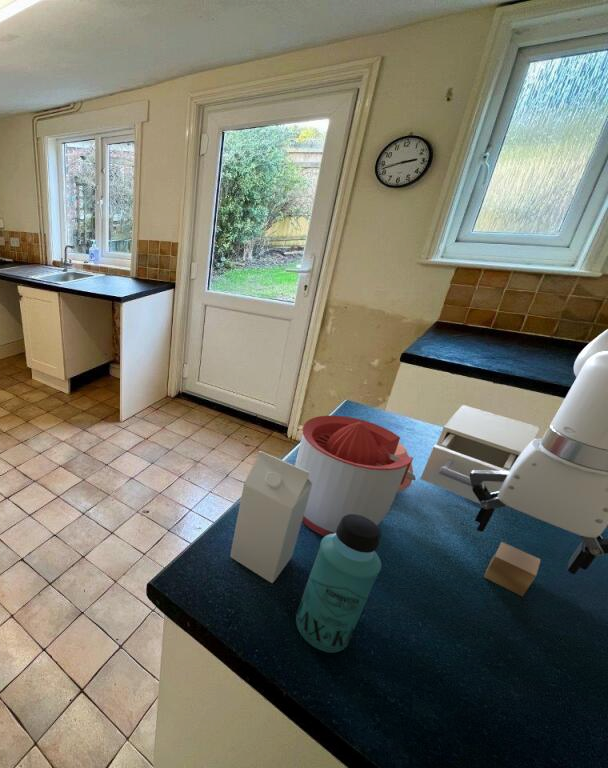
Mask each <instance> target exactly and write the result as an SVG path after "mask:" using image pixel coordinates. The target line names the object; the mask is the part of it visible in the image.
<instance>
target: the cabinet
mask: <svg viewBox="0 0 608 768" xmlns="http://www.w3.org/2000/svg"><path fill="white" fill-rule="evenodd" d="M540 429H541V426H537V425H533V424H530V423H526V422H523V421H520V420H517V419H513V418H509V417H506V416H502V415H499V414H496V413H492V412H489V411H485V410H482V409H479V408H475V407H471V406H468V405H465V404H462V405H461V406H460V407H459V408H458V410H457V411H456V412H455V413H454V414H453V415H452V416H451V417H450V419H449V420H448V421H447V422H446V424H444V426H443V428H442V430H441V432H440V435H439V437H438V440H437V442H436V444H435V445H438V446H441V444H442V443H443V442H444V441H445V439H446V438H447V437H448V436H449V434H450V433H453V434H456V435H459V436H462V437H465V438H468V439H471V440H474V441H477V442H480V443H483V444H486V445H489V446H492V447H495V448H498V449H501V450H504V451H507V452H510V453H513V454H516V457H515V459H514V461H513V463H512V465H511V467H512V466H513V464H514V463H515V461H516V460H517V458H518V457H519V455H520V454H521V453H522V451H523V450H524V449H525V448H526V447H527V445H528V444H529V443H530V442H531V441H532V440H534V439H537V435H538V433H539V431H540ZM511 467H510V469H511ZM510 469H509V470H510Z"/></svg>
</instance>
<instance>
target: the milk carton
mask: <svg viewBox="0 0 608 768" xmlns="http://www.w3.org/2000/svg"><path fill="white" fill-rule="evenodd" d="M308 476H309V472H308V471H306V470H304V469H301V468H299V467H297V466H295V464H291V463H289V462H287V461H284V460H283V459H280V458H277V457H275V456H273V455H271V454H268V453H266V452H264V451H261V450H259V451H258V455H257V458H256V460H255V461H254V463H253V466H252V467H251V469H250V471H249V473H248V475H247V477H246V478H245V480H244V482H243V486H242V492H241V496H240V501H239V507H238V513H237V518H236V523H235V529H234V534H233V539H232V544H231V550H230V555H229V557H230V558H231V559H233V560H234V561H235V562H237V563H239V564H241V565H242V566H243V567H245V568H247V569H249V570H250V571H252V572H253V573H255V574H256V575H257V576H260V578H263V579H264V580H266V581H268V582H269V583H271V584H273V583H274V582H275V581H276V580H277V579H278V577H279V576H280V574H281V573H282V571H283V570H284V569H285V567H286V566H287V565H288V563H289V562H290V560H291V559H292V558H293V554H294V551H295V548H296V544H297V541H298V537H299V533H300V529H301V527H302V523H303V522H302V520H303V516H304V512H305V509H306V505H307V502H308V498H309V494H310V491H311V487H312V483H311V482H310V480H309V479H308Z"/></svg>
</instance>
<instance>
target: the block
mask: <svg viewBox="0 0 608 768" xmlns="http://www.w3.org/2000/svg"><path fill="white" fill-rule="evenodd" d="M541 561H542V559H540V557H539V558H538V557H536V556H534V555H532V554H530V553H528V552H525V551H523V550H521V549H518V548H516V547H515V546H512V545H510V544H508V543H506V542H504V541H501V542H500V543H499V545H498V547H497V548H496V551H495V552H494V554H493V556H492V557H491V559H490V561H489V563H488V566H487V568H486V570H485V572H484V575H483V578H485V579H487V580H489V581H491V582H493V583H495V584H497V585H498V586H500V587H503V588H505V589H507V590H509V591H511V592H512V593H514V594H517V595H518V596H521V597H524V596H525V594H526V593H527V591H528V590H529V588H530V586H531V585H532V583H533V582H534V580H535V579H536V577H537V576H538V575H537V574H538V571H539V568H540V564H541Z"/></svg>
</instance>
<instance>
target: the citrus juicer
mask: <svg viewBox="0 0 608 768" xmlns="http://www.w3.org/2000/svg"><path fill="white" fill-rule="evenodd" d="M301 431H302V437H301V438H300V439H301V440H300V443H299V446H298V447H299V448H298V452H297V456H296V460H295V462H294V463H295V464H294V466H297V467H299V468H301V469H304V470H306V471H308V472H309V476H308V479H309V480H310V482H311V483H312V487H311V491H310V494H309V498H308V502H307V505H306V509H305V512H304V516H303V520H302V523H303V524H304V525H305V526H306V527H308V528H309V529H310V530H312V531H313V532H314V533H317V534H319V535H321V537H325V536H326V535H329V534H333V533H336V529H337V527H338V525H339V523H340V521H341V519H342V518H343V517H344V516H345V515H348V514H356V515H360V516H363V517H366V518H368V519H370V520H371V521H373V522H374V523H375V524H376V525H377V526H378V525H379V524H380V523H381V522H382V521H383V520H384V519H385V517H386V516H387V514H388V512H389V510H390V509H391V507H392V505H393V503H394V501H395V499H396V496H397V493H398V492H397V491H398V488H399V486H400V484H402V485H403V482H404V480H405V478H407V479H411V480H412V481H414V482H416V475H415V474H414V473H413V474H412V473H411V472H410V470H409V467H410V465H411V463H412V462H413V459H414V457H413V456H409V457H397V456H395V455H394V454H395V452H396V449H397V446H398V443H400V439H401V436H399V435H397V434H396V433H394V432H393V431H391V430H390V429H387V428H386V427H383V426H380V425H379V424H376V423H373V422H371V421H367V420H364V419H359V418H355V417H351V416H345V415H319V416H315V417H312V418H310V419H308V420H306V422H305V423H304V424H303V426H302V428H301Z"/></svg>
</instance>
